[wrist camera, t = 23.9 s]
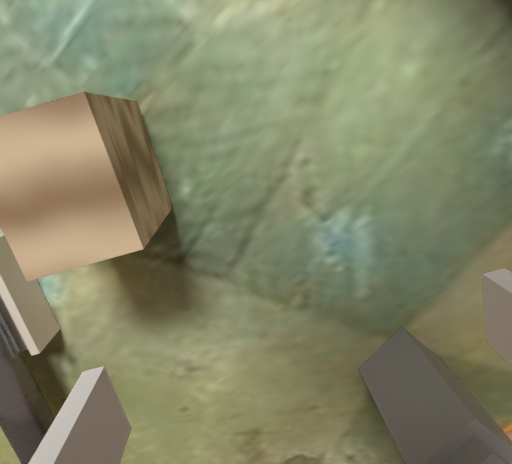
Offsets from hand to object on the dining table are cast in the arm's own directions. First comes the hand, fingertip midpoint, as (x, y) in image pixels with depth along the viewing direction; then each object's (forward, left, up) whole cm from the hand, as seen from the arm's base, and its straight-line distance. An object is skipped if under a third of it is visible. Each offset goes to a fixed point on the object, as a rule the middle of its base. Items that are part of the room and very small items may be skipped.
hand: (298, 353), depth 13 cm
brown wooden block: (-7, -12, -25) cm, 29 cm away
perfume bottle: (+22, +11, -26) cm, 35 cm away
